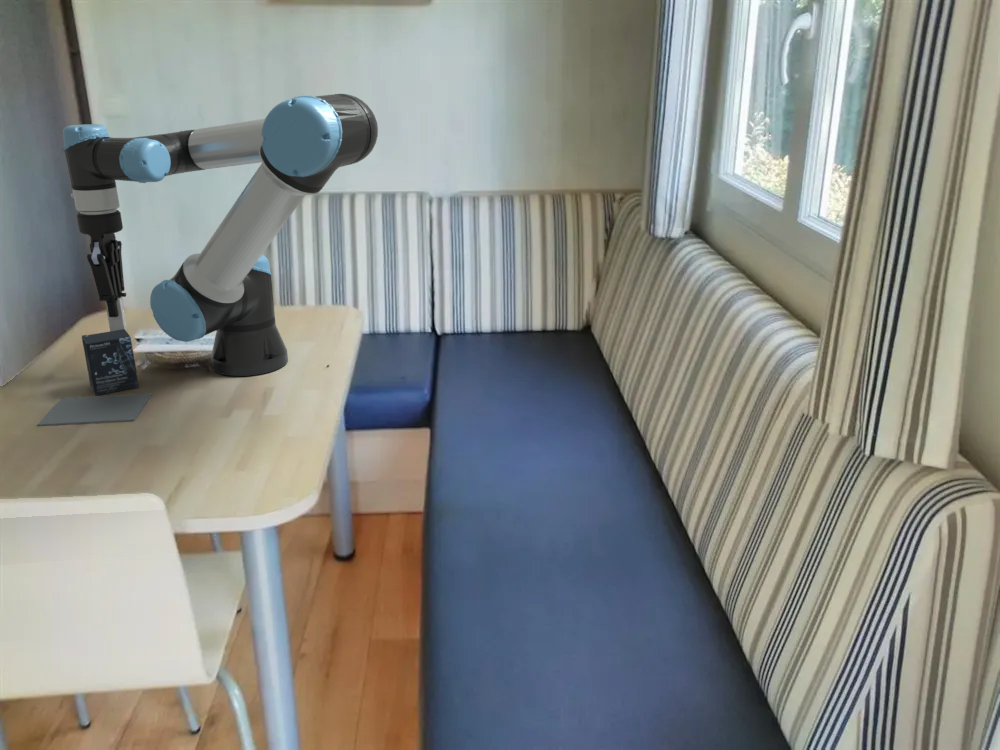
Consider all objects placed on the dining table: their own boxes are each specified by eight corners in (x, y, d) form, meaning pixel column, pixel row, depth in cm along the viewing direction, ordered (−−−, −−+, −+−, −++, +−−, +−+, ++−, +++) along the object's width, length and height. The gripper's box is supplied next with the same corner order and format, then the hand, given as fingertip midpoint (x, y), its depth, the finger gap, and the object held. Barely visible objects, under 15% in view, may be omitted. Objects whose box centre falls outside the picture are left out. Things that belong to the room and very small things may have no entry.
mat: (151, 395, 159) (151, 393, 159) (134, 420, 148) (133, 419, 148) (61, 399, 157) (61, 397, 157) (37, 426, 146) (37, 424, 146)
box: (95, 396, 159) (85, 343, 155) (90, 387, 163) (80, 335, 159) (139, 388, 163) (131, 335, 159) (133, 379, 167) (124, 328, 163)
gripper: (88, 205, 164) (109, 321, 172) (64, 217, 152) (87, 342, 160) (129, 204, 165) (147, 320, 173) (108, 216, 153) (128, 340, 161)
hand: (118, 330), depth 167 cm, fingers closed
